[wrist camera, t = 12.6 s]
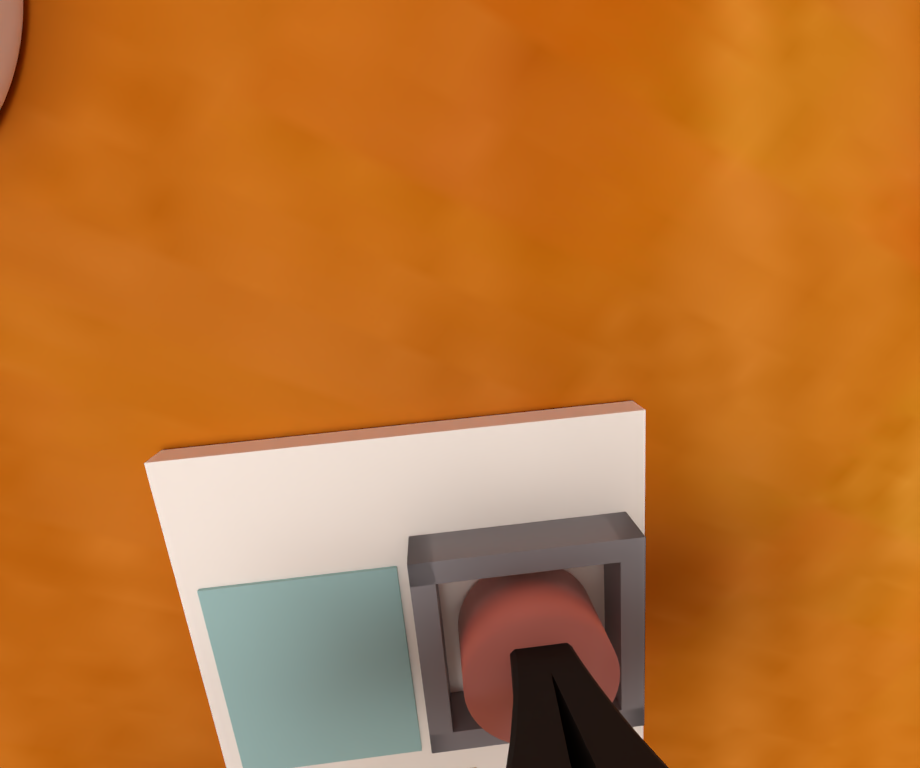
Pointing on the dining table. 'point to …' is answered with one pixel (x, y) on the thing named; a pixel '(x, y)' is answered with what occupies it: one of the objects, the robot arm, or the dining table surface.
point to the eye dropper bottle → (9, 42)
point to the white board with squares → (392, 573)
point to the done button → (526, 638)
